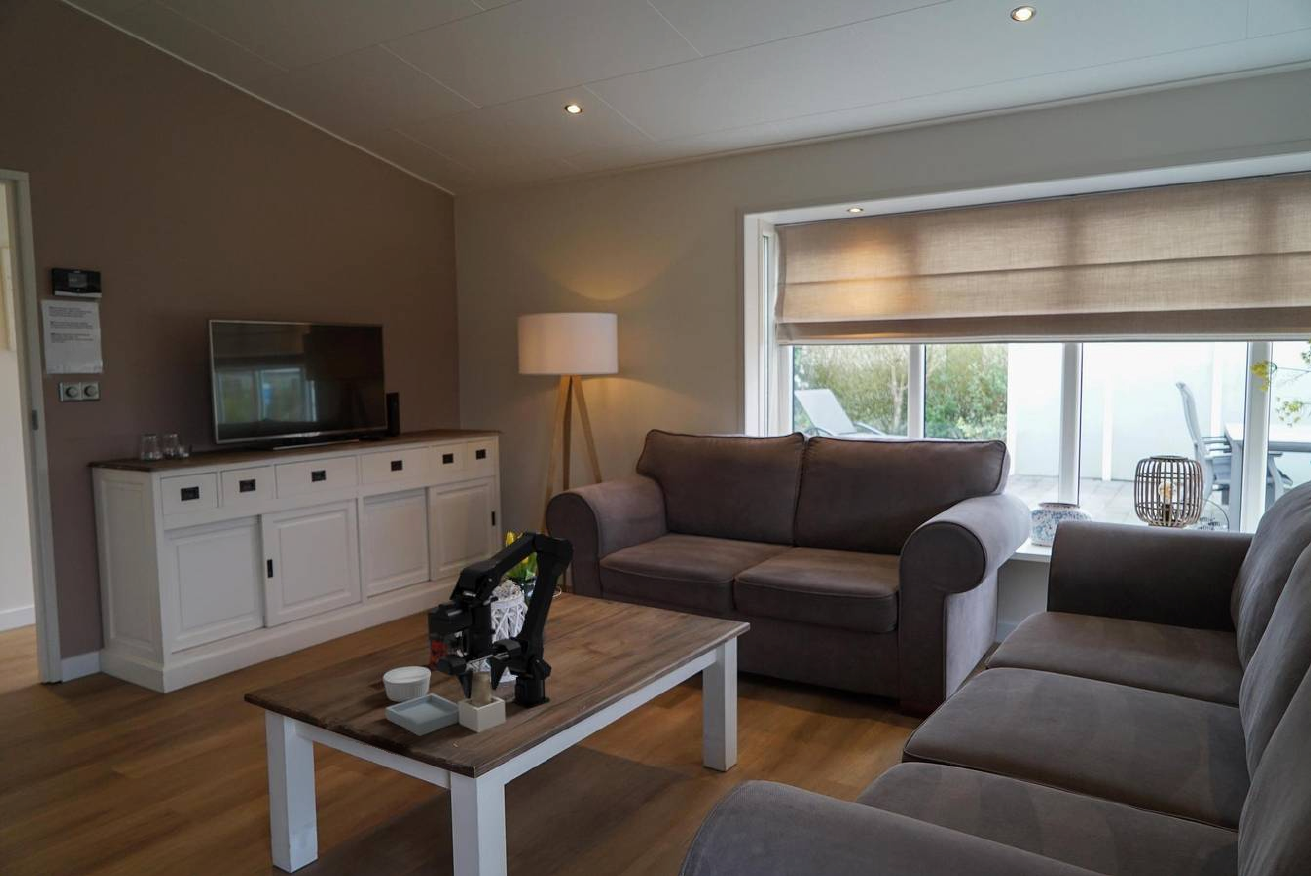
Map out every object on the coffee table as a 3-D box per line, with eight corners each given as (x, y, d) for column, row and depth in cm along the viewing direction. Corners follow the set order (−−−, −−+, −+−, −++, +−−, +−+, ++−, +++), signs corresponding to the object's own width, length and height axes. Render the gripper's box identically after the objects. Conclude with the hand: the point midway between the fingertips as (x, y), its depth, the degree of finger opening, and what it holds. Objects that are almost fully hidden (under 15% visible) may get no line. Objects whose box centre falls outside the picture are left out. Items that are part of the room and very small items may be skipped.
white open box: (486, 714, 202) (485, 692, 202) (505, 722, 197) (504, 700, 197) (459, 723, 197) (458, 701, 197) (478, 732, 192) (477, 710, 192)
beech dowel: (484, 718, 200) (482, 670, 199) (495, 722, 197) (493, 674, 197) (469, 723, 197) (467, 674, 196) (480, 728, 195) (478, 679, 194)
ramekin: (405, 707, 208) (404, 685, 207) (373, 698, 214) (372, 676, 214) (441, 692, 217) (440, 671, 217) (410, 683, 223) (409, 663, 223)
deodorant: (425, 666, 236) (423, 610, 235) (445, 660, 240) (443, 605, 239) (437, 671, 232) (435, 614, 231) (457, 665, 236) (455, 609, 235)
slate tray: (432, 703, 210) (432, 693, 209) (467, 719, 200) (466, 708, 200) (386, 718, 201) (385, 708, 201) (419, 735, 191) (418, 724, 191)
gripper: (492, 609, 208) (494, 674, 209) (421, 627, 195) (424, 697, 196) (521, 618, 200) (524, 686, 201) (449, 637, 187) (452, 710, 188)
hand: (481, 694), depth 197 cm, fingers open, 6 cm apart
